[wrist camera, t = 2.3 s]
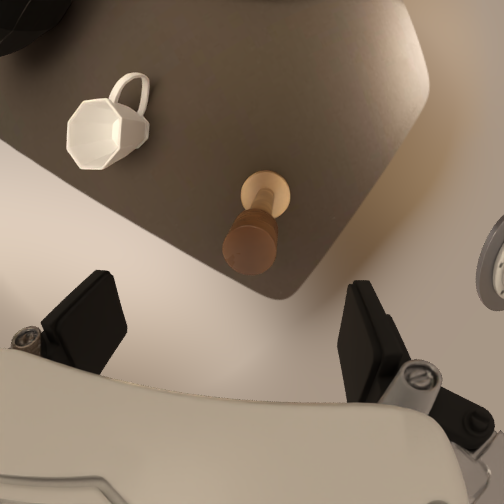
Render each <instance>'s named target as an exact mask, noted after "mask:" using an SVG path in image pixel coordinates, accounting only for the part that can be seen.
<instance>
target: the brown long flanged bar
mask: <svg viewBox="0 0 504 504" xmlns="http://www.w3.org/2000/svg"><path fill="white" fill-rule="evenodd" d="M241 201H242V204H243V206H244V208H245V209H246V210H245V211H243V212H241V213H240V214H239V215H238V216H237V218H236V219H235V221H234V223H233V225H232V227H231V228H230V230H229V232H228V234H227V236H226V238H225V240H224V242H223V256H224V258H225V260H226V262H227V264H228V265H229V266H230V267H231V268H232V269H233V270H235V271H236V272H238V273H241V274H244V275H257V274H260V273H263V272H265V271H266V270H268V269H269V268H270V267H271V266H272V264H273V263H274V261H275V258H276V253H277V239H278V226H277V222H276V220H275V219H274V218H276V217H278V216H280V215H281V214H282V213H283V212H284V211H285V210H286V209H287V207H288V205H289V202H290V189H289V185H288V183H287V182H286V180H285V179H284V178H283V177H282V176H281V175H280V174H278V173H276V172H273V171H269V170H262V171H258V172H256V173H254V174H252V175H251V176H250V177H249V178H248V179H247V180H246V181H245V183H244V184H243V186H242V190H241Z"/></svg>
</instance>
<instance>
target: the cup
mask: <svg viewBox="0 0 504 504" xmlns="http://www.w3.org/2000/svg"><path fill="white" fill-rule="evenodd" d="M139 77H140V78H141V79H142V95H141V102H140V106H139V109H138V111H137V112H135V111H134V110H133V109H131V108H130V107H128V106H125V105H122V104H120V103H118V99H119V96H120V93H121V91H122V88H123V87H124V86H125V84H127V83H128V82H129V81H131V80H132V79H133V78H139ZM149 88H150V83H149V79H148V77H147V76H146V75H144V74H141V73H135V72H134V73H129V74H126V75H125V76H123V77H122V78H121V79H119V80H118V82H117V83H116V84H115V86H114V88H113V90H112V92H111V94H110V96H109V99H107V98H103V99H94V100H86V101H83V102H82V103H81V105H80V106H79V107H78V109H77V110H76V111H75V113H74V114H73V115H72V117H71V118H70V120H69V121H68V126H67V151H68V152H69V154H70V155H71V156H72V158H73V159H74V161H75V162H76V164H77V165H78V166H79V168H80V169H97V170H103V169H104V168H106V167H108V166H110V165H111V164H113V163H114V162H116V161H118V160H120V159H122V158H124V157H126V156H127V155H128V154H129V153H131V152H132V151H133V150H134V149H137V148H139V147H140V146H141V145H142V144H143V143H144V142H145V141H146V140H147V139H148V136H149V124H150V123H149V122H148V121H147V120H146V119H145V117H144V116H143V115H144V113H145V110H146V107H147V103H148V96H149Z"/></svg>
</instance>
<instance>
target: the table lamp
mask: <svg viewBox="0 0 504 504" xmlns="http://www.w3.org/2000/svg"><path fill="white" fill-rule="evenodd" d="M71 2H72V0H0V57H1V56H5V55H8V54H11V53H13V52H16V51H18V50H20V49H22V48H24V47H26V46H28V45H29V44H30V43H32V42H33V41H35V40H36V39H37V38H39V37H40V36H41V35H43V34H44V33H45V32H47V31H48V30H50V29H51V28H53V27H54V26H56V25H57V24H58V23H59V21H60V20H61V18H62V17H63V15H64V14H65V12H66V11H67V9H68V8H69V6H70V5H71Z"/></svg>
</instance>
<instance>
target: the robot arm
mask: <svg viewBox="0 0 504 504" xmlns="http://www.w3.org/2000/svg"><path fill="white" fill-rule="evenodd" d="M492 279H493V286H494V290H495V291H496V293H497V294H498V295H499V296H500V297H501V298H503V299H504V243H503V245H502V247H501V249H500V251H499V253H498V255H497V258H496V261H495V264H494V269H493V277H492ZM41 325H42V327H43V329H44V331H43V332H42V333H41V331H40V329H39V328H37V327H35V326H30V327H26V328H23V329H21V330H20V331H18V332H17V333H16V334H15V336H14V337H13V339H12V342H11V348H8V349H6V348H5V349H4V348H3V349H0V504H504V433H503V432H502V431H501V430H500V431H499V432H498V433H497V432H496V431H494V427H495V424H494V419H493V417H492V415H491V414H490V413H489V411H488V410H486V409H485V408H483V407H481V406H479V405H477V404H475V403H473V402H471V401H469V400H467V399H465V398H463V397H461V396H459V395H457V394H455V393H453V392H451V391H449V390H447V389H445V388H443V387H441V384H442V375H441V373H440V371H439V370H438V368H437V367H436V366H434V365H433V364H431V363H430V362H428V361H424V360H417V359H415V360H411V358H410V356H409V354H408V351H407V349H406V347H405V345H404V342H403V340H402V338H401V336H400V334H399V332H398V329H397V327H396V325H395V323H394V321H393V319H392V317H391V316H390V315H389V314H386V313H385V311H384V309H383V307H382V305H381V303H380V301H379V299H378V297H377V295H376V293H375V291H374V289H373V287H372V285H371V283H370V281H367V280H355V281H354V282H353V284H349V285H348V288H347V295H346V300H345V306H344V311H343V317H342V322H341V327H340V332H339V337H338V343H337V348H338V354H339V358H340V364H341V369H342V375H343V380H344V386H345V392H346V398H347V403H297V402H271V401H270V402H269V401H253V400H240V399H229V398H220V397H210V396H202V395H195V394H188V393H182V392H176V391H170V390H164V389H159V388H154V387H149V386H144V385H139V384H134V383H129V382H125V381H121V380H117V379H112V378H109V377H105V376H101V375H100V373H101V372H102V370H103V369H104V367H105V365H106V364H107V362H108V361H109V359H110V358H111V356H112V354H113V353H114V352H115V350H116V349H117V347H118V345H119V344H120V343H121V341H122V340H123V338H124V337H125V335H126V333H127V324H126V321H125V317H124V314H123V311H122V307H121V303H120V300H119V296H118V292H117V288H116V284H115V281H114V277H113V275H111V274H110V272H109V271H105V270H96V271H94V272H93V273H92V274H91V275H90V276H89V277H88V278H86V279H85V280H84V281H83V282H82V283H81V284H80V285H79V286H78V287H77V288H75V289H74V290H73V291H72V292H71V293H70V294H69V295H68V296H67V297H66V298H65V299H64V300H63V301H62V302H61V303H60V304H59V305H58V306H57V307H55V308H54V309H53V311H52V312H50V313H49V314H48V315H47V316H46V318H44V319H43V320H42V321H41Z"/></svg>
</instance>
